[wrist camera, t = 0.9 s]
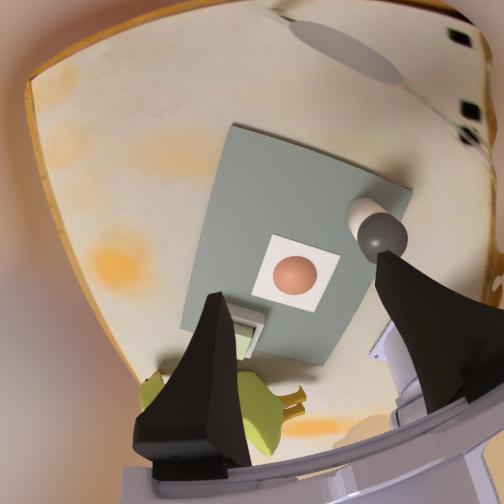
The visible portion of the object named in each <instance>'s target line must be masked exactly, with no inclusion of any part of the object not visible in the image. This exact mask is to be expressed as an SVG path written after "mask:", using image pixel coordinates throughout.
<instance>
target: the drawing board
mask: <svg viewBox="0 0 504 504" xmlns="http://www.w3.org/2000/svg"><path fill="white" fill-rule="evenodd" d="M412 194H413V192H412V191H410V190H408V189H406V188H403V187H401V186H399V185H397V184H395V183H392V182H390V181H388V180H386V179H383V178H381V177H379V176H376V175H374V174H372V173H369V172H367V171H365V170H362V169H360V168H357V167H355V166H352V165H350V164H347V163H345V162H342V161H340V160H337V159H334V158H332V157H329V156H326V155H324V154H321V153H318V152H315V151H312V150H310V149H307V148H304V147H301V146H298V145H295V144H292V143H289V142H286V141H283V140H280V139H277V138H273V137H270V136H267V135H264V134H260V133H257V132H254V131H250V130H247V129H243V128H239V127H236V126H232V125H230V129H229V132H228V135H227V139H226V142H225V146H224V149H223V153H222V156H221V160H220V163H219V167H218V171H217V174H216V178H215V182H214V185H213V189H212V193H211V197H210V201H209V204H208V208H207V212H206V216H205V220H204V224H203V228H202V232H201V236H200V240H199V244H198V249H197V253H196V257H195V261H194V266H193V270H192V275H191V279H190V284H189V288H188V293H187V297H186V302H185V307H184V311H183V316H182V321H181V326H180V329H184V330H187V331H190V332H193V333H194V332H195V329H196V326H197V324H198V321H199V319H200V316H201V313H202V310H203V307H204V304H205V301H206V297H207V295H208V294H211V293H216V292H220V291H222V294H223V296H224V299H225V301H226V304H227V307H228V309H229V312H230V314H231V317H232V320H233V321H235V322H238V323H242V324H245V325H249V326H252V327H253V334H252V339H251V342H250V344H249V347H248V349H247V352H246V354H245V356H244V357H245V358H249V359H250V357H251V355H252V352H253V350H255V351H258V352H262V353H266V354H270V355H274V356H278V357H282V358H286V359H290V360H295V361H299V362H304V363H308V364H313V365H317V366H322V367H323V365H324V364H325V362H326V361H327V359H328V358H329V356H330V354H331V353H332V351H333V350H334V348H335V346H336V345H337V343H338V341H339V340H340V338H341V336H342V335H343V333H344V331H345V330H346V328H347V326H348V325H349V323H350V321H351V319H352V318H353V316H354V314H355V312H356V310H357V309H358V307H359V305H360V303H361V301H362V300H363V298H364V296H365V294H366V292H367V290H368V288H369V286H370V285H371V283H372V281H373V279H374V277H375V275H376V266H377V265H375V264H373V263H371V262H369V261H368V260H367V259H366V258H365V256H364V254H363V253H362V251H361V249H360V248H359V245H358V242H357V240H356V239H355V237H354V236H353V234H352V232H351V231H350V229H349V228H348V226H347V224H346V222H345V211H346V209H347V207H348V205H349V204H350V203H351V202H352V201H353V200H355V199H357V198H360V197H368V198H371V199H373V200H374V201H375V202H376V203H377V204H379V205H380V206H381V207H382V208H383V209H384V210H385V211H387V212H388V213H389V214H391V215H392V216H394V217H395V218H396V219H397V220H398V221H399V222H401V220H402V218H403V215H404V213H405V211H406V208H407V206H408V204H409V201H410V199H411V196H412Z"/></svg>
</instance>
